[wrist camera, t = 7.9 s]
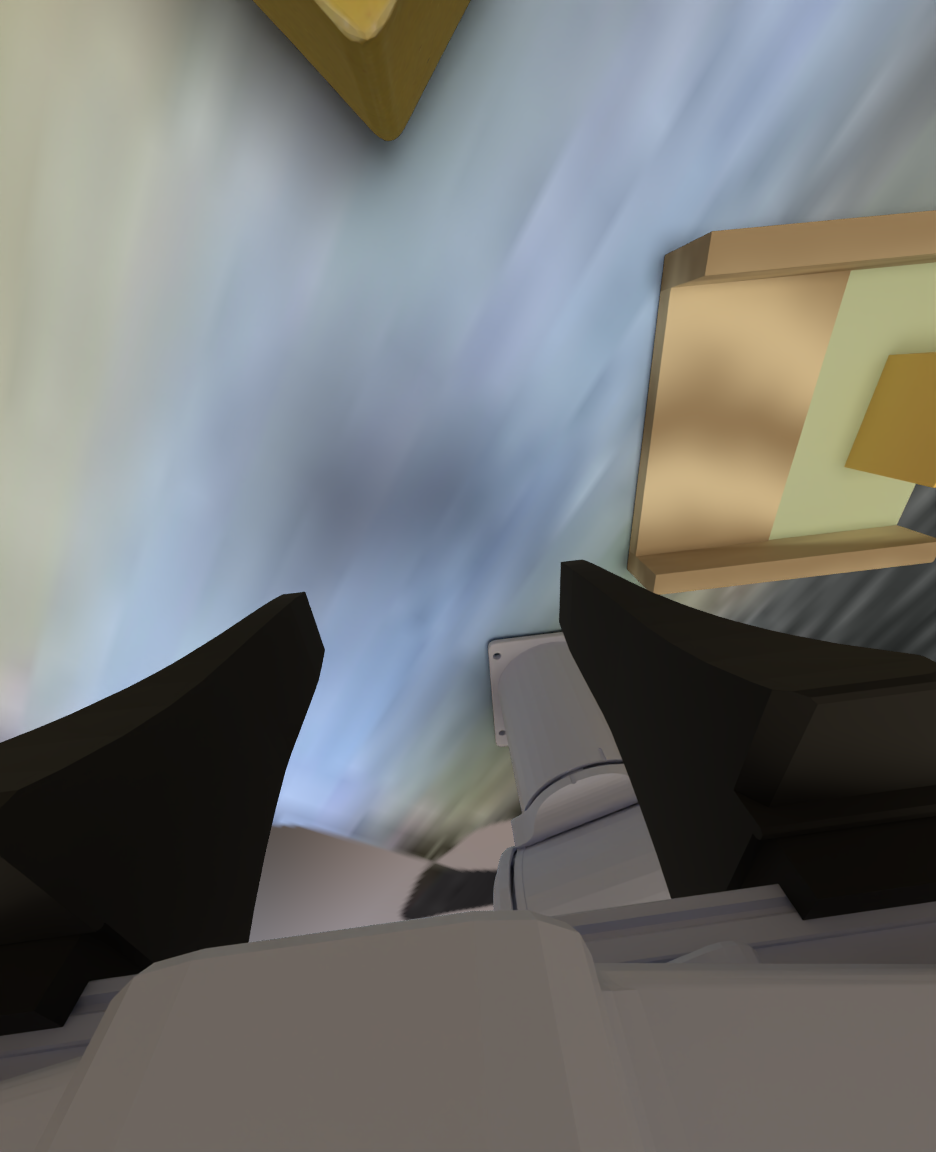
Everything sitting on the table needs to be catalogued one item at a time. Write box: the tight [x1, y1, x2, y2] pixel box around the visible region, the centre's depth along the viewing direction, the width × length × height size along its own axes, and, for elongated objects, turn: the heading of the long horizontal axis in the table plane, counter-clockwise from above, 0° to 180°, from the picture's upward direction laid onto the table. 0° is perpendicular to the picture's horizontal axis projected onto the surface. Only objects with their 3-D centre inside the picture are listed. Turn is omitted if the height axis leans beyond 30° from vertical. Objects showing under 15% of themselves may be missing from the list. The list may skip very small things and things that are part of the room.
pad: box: [769, 262, 936, 540], centre depth 19 cm, size 12×8×1 cm, turn 5°
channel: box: [627, 210, 936, 595], centre depth 18 cm, size 14×15×3 cm
